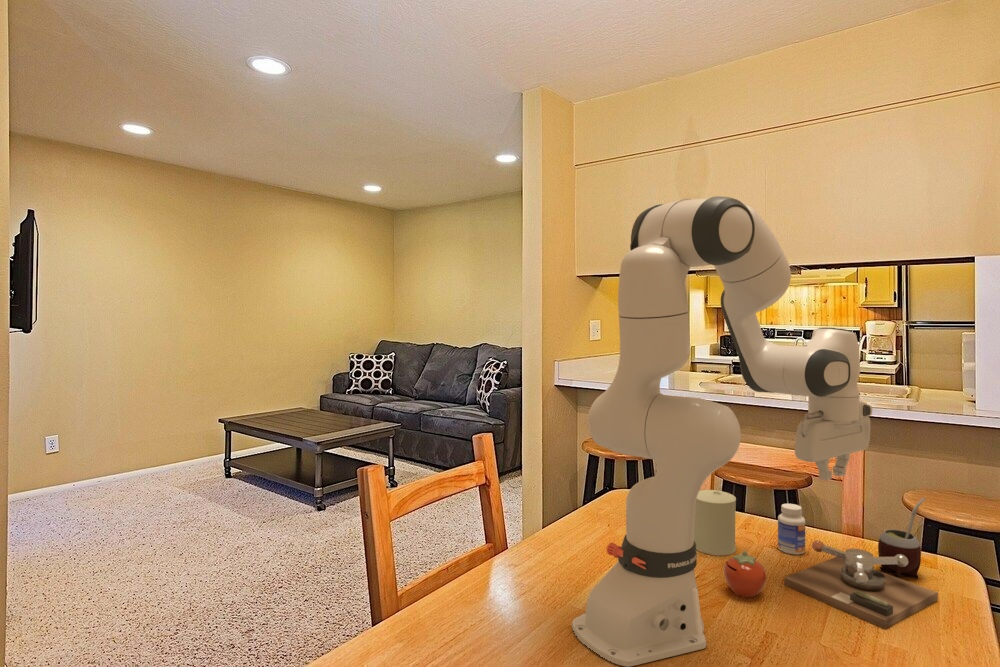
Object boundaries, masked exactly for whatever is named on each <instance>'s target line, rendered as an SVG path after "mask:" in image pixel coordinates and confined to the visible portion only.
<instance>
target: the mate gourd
mask: <svg viewBox="0 0 1000 667" xmlns="http://www.w3.org/2000/svg"><path fill="white" fill-rule="evenodd" d="M925 500H926V498H925V497H922V498H921V499H920V500H919V501H918V502H917V503H916V504H915V506H914V507H913V508H912V510H911V516H910V519H909V523H908V526H907V530H906V531H904V530H899V529H886V530H884V531H883V532H882V533H881V534H880V536H879V539H878V544H877V550H878V551H877V552H878V553H877V554H878V557H895V556H896V555H897V554H902V555H904V556H906V557H907V559H908V564H907V565H906V566H905V567H900V566H898V565H897V564H883V565H880V567H879V571H880V572H883V573H890V574H894V575H895V577H897V578H900V579H902V576H904V577H907V578H911V579H919V574H918V572H919V569H920V567H921V562H922V548H921V545H920V543H921V542H919V539H918V538H917V537H916V536H915V535H913V533H911V531H912V528H913V525H914V521H915V516H916V515H917V514H918V509H919V508H920V506H921V505H922V504H923V502H924V501H925Z"/></svg>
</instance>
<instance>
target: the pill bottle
mask: <svg viewBox="0 0 1000 667" xmlns="http://www.w3.org/2000/svg"><path fill="white" fill-rule="evenodd" d="M780 511H781V513H780V514H779V515H778V516H777V548H778V549H779V550H780V552H783V553H785V554H789V555H799V556H800V555H803V554H804V553H805V552H806V519H805V517H803V516H802V514H803V512H802V511H803V508H802V506H801V505H799V504H795V503H783V504H781V507H780Z"/></svg>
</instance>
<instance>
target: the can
mask: <svg viewBox="0 0 1000 667" xmlns="http://www.w3.org/2000/svg"><path fill="white" fill-rule="evenodd" d="M736 502H737V497H736V496H735V495H734V494H731V493H730V492H726V491H723V490H716V489H715V490H714V489H700V490H699V493H698V496H697V499H696V505H695V516H694V541H695V543H696V551H698V552H700V553H702V554H705V555H711V556H717V557H718V556H719V557H721V556H722V557H723V556H730V555H732V554H734V553H736V551H737V546H736V506H737V505H736V504H737V503H736Z"/></svg>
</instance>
